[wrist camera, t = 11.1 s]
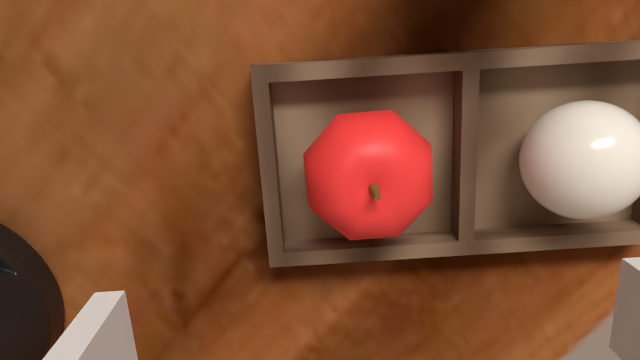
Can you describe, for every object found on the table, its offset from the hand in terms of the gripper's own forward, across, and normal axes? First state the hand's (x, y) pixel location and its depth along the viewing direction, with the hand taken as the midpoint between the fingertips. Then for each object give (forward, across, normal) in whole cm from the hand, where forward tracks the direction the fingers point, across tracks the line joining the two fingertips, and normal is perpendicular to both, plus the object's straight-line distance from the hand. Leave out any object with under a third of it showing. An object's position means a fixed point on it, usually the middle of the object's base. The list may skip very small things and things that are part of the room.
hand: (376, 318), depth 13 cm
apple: (+20, +2, -1) cm, 20 cm away
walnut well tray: (+20, +8, -1) cm, 22 cm away
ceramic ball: (+19, +15, -1) cm, 24 cm away
